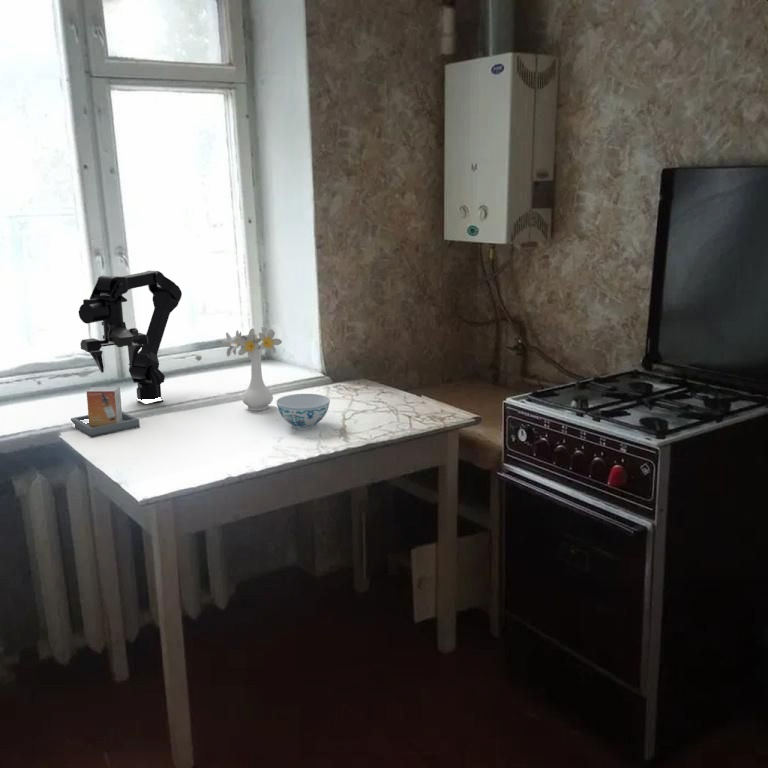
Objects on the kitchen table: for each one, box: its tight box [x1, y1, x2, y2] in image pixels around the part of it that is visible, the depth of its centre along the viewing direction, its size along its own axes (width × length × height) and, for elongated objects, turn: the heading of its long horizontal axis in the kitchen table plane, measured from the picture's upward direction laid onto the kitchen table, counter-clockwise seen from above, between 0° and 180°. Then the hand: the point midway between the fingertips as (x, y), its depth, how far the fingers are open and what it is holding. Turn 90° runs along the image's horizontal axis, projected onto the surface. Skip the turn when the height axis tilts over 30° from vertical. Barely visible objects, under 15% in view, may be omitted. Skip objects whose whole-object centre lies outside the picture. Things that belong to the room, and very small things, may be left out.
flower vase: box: [221, 326, 283, 412], centre depth 244 cm, size 13×18×25 cm
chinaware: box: [276, 393, 331, 431], centre depth 228 cm, size 15×15×8 cm
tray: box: [70, 410, 141, 439], centre depth 229 cm, size 14×14×2 cm
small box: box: [86, 386, 123, 427], centre depth 228 cm, size 8×6×10 cm
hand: (117, 370), depth 242 cm, fingers open, 9 cm apart
